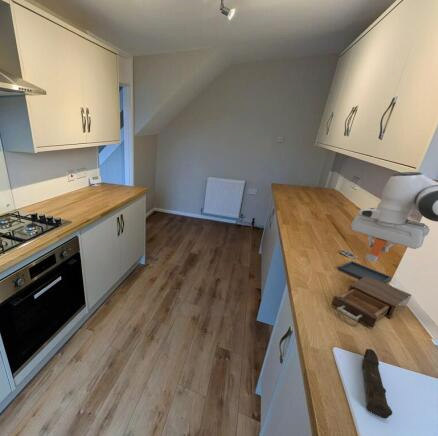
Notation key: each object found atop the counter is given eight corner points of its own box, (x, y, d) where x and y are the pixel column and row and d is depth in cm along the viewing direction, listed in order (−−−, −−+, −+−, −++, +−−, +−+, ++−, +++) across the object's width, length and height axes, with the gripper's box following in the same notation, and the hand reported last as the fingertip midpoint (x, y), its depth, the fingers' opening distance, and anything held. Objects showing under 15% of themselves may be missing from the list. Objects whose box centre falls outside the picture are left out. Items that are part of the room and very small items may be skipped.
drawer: (366, 332, 77) (370, 323, 75) (325, 308, 87) (327, 299, 86) (388, 315, 84) (393, 307, 83) (348, 295, 94) (351, 287, 93)
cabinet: (389, 319, 84) (396, 306, 82) (345, 296, 95) (350, 284, 93) (405, 306, 90) (411, 294, 88) (362, 286, 101) (366, 275, 99)
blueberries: (340, 250, 132) (342, 247, 131) (359, 255, 126) (360, 252, 125) (337, 253, 128) (338, 250, 127) (356, 259, 122) (357, 256, 121)
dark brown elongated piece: (387, 423, 54) (395, 410, 52) (364, 411, 56) (371, 398, 54) (377, 362, 68) (383, 350, 66) (359, 354, 70) (365, 343, 68)
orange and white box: (380, 258, 94) (388, 239, 91) (374, 262, 91) (382, 242, 88) (371, 255, 96) (379, 236, 93) (365, 258, 94) (372, 239, 91)
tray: (390, 280, 105) (392, 277, 105) (377, 288, 100) (379, 284, 100) (350, 264, 118) (351, 261, 117) (337, 270, 113) (338, 266, 112)
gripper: (435, 223, 81) (418, 259, 85) (362, 207, 98) (351, 237, 102) (428, 226, 78) (411, 263, 83) (354, 209, 95) (344, 240, 100)
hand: (377, 248), depth 93 cm, fingers closed on orange and white box, 2 cm apart
